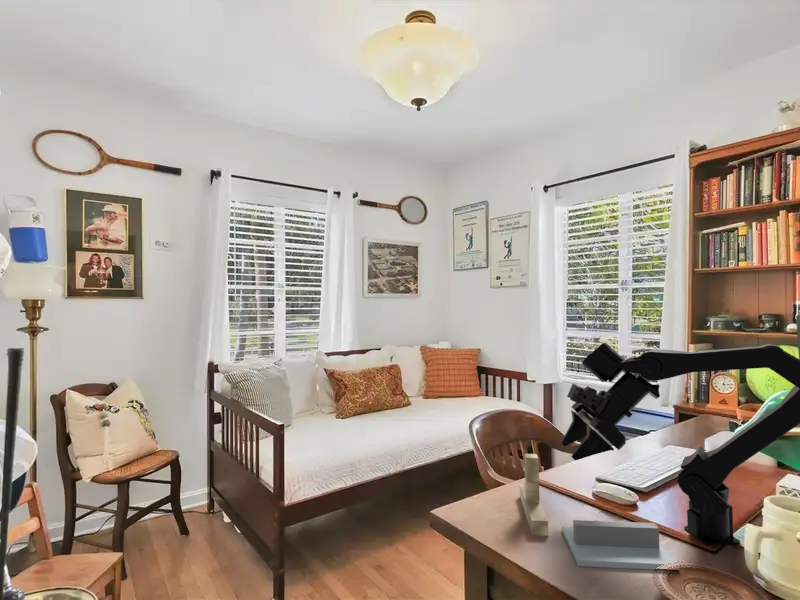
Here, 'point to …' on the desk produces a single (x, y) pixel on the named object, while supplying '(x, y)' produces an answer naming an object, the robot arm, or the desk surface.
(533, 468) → the t bar
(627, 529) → the stand
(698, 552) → the desk surface
